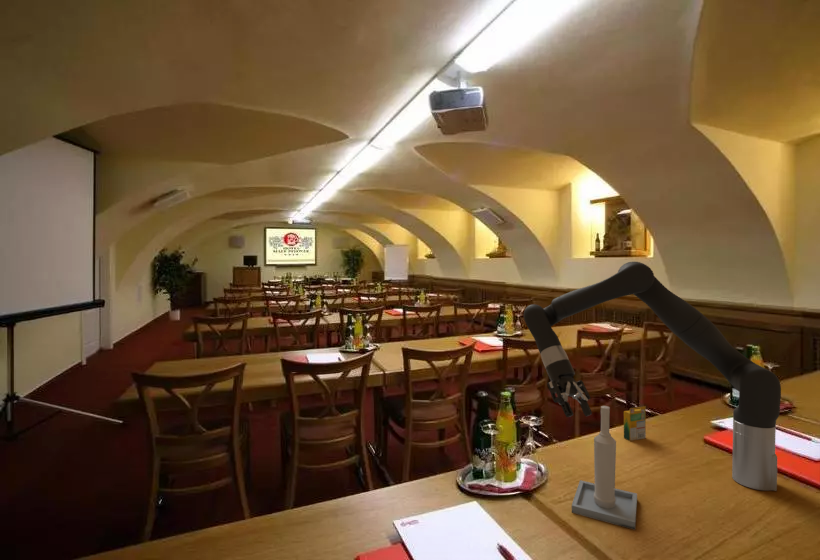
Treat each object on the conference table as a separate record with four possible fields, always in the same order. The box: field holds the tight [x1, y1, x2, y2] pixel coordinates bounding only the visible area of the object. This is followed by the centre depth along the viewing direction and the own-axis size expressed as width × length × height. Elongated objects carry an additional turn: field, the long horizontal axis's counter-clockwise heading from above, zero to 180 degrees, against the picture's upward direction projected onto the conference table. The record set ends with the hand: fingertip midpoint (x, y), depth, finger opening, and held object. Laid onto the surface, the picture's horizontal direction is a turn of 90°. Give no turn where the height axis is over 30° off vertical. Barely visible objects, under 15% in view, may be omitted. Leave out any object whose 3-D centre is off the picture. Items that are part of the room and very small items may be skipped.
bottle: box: [593, 405, 617, 509], centre depth 106 cm, size 5×5×25 cm
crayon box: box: [623, 405, 647, 442], centre depth 148 cm, size 7×3×12 cm, turn 108°
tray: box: [571, 479, 638, 531], centre depth 106 cm, size 14×14×2 cm
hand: (579, 415), depth 119 cm, fingers open, 8 cm apart
